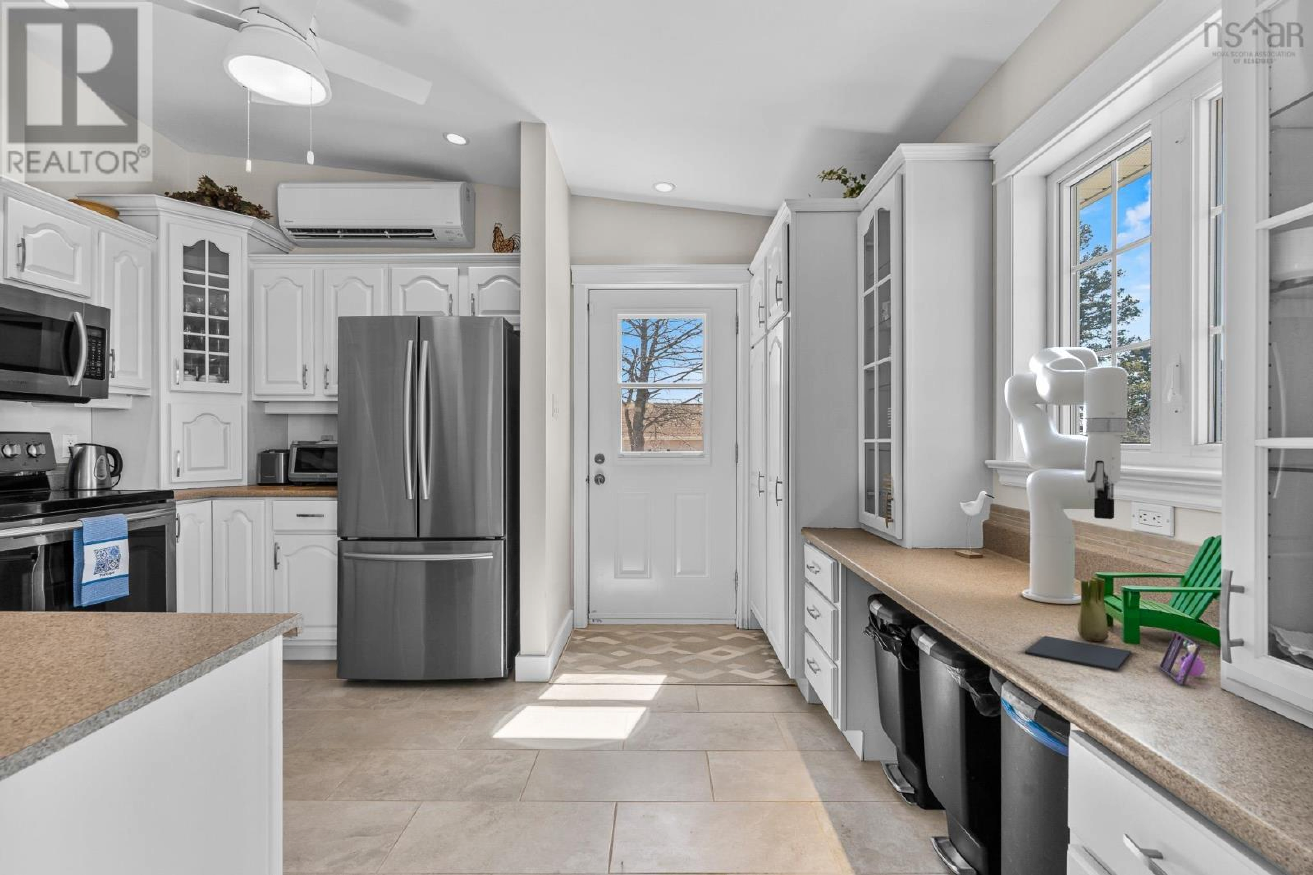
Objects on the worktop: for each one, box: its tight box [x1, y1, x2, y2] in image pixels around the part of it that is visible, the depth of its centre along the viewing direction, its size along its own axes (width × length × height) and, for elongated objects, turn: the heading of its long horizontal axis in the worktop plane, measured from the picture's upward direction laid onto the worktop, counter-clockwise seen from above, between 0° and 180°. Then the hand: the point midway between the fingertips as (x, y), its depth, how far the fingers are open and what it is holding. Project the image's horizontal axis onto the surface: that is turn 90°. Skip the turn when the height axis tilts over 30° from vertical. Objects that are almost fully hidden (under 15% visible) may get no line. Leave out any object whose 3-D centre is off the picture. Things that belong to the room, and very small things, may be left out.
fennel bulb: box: [1076, 576, 1109, 642], centre depth 136 cm, size 6×5×12 cm
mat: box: [1024, 635, 1132, 672], centre depth 127 cm, size 14×14×1 cm
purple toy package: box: [1159, 630, 1206, 686], centre depth 114 cm, size 7×5×9 cm
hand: (1104, 518), depth 144 cm, fingers closed
